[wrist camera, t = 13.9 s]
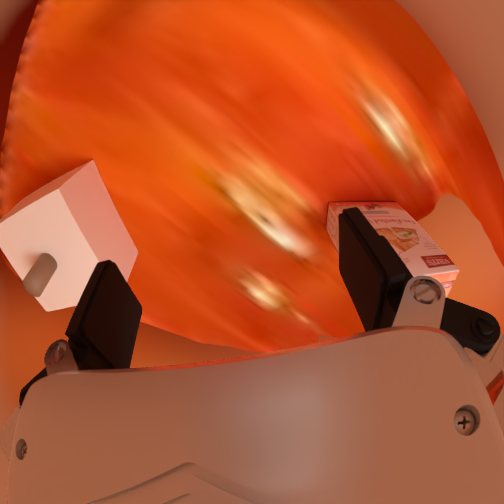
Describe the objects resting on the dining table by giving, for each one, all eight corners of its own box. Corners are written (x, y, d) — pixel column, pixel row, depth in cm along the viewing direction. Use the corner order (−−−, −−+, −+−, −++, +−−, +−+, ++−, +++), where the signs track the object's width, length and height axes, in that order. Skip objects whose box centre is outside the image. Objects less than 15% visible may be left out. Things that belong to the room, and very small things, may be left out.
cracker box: (396, 198, 47) (462, 270, 30) (389, 226, 50) (446, 301, 34) (327, 199, 46) (379, 281, 29) (324, 229, 50) (366, 317, 33)
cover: (23, 198, 40) (-29, 251, 26) (93, 159, 38) (34, 210, 24) (67, 272, 51) (35, 335, 37) (138, 252, 50) (112, 325, 35)
